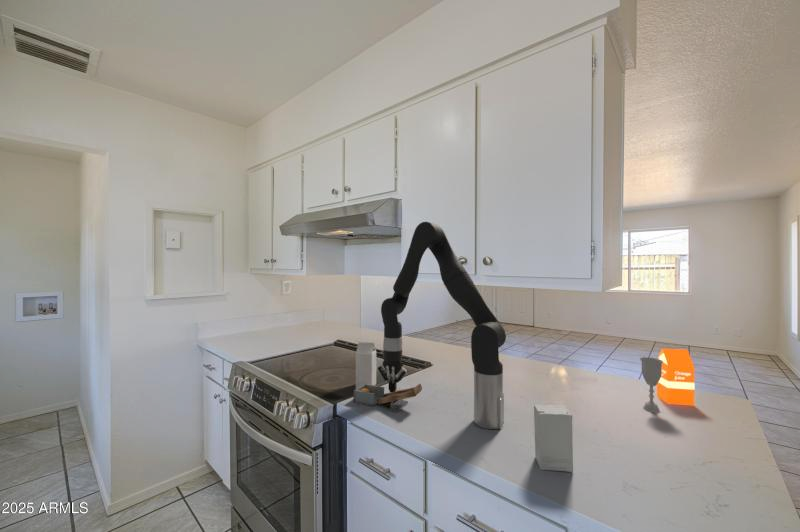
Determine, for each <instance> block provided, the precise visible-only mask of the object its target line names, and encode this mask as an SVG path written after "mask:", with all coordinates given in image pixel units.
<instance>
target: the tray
mask: <svg viewBox="0 0 800 532" xmlns="http://www.w3.org/2000/svg"><path fill="white" fill-rule="evenodd" d="M363 389H368V390H369V392H365V391H362V390H363ZM352 393H353V396H352V397H353V403H356V402H358V403H357V404H361V403H362V404H361V405H365V404H368V405H367V406H370V405H372V406H371V407H375V406H376V405H378V404H377V399H379V398H383V397H384V394H385V387H384V386H379V385H370V384H363V385H361V386H360V387H358V388H356V387H355V389H353V392H352ZM375 404H376V405H375ZM374 405H375V406H374Z"/></svg>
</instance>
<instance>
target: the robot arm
mask: <svg viewBox="0 0 800 532" xmlns="http://www.w3.org/2000/svg"><path fill="white" fill-rule="evenodd" d="M410 241H411V242H410V244H409V248H408V249H407V250H408V251H407V254H406V258H405V259H404V263H403V265H402V268H401V269H400V271H399V274H398V275H397V278H396V280H395V282H394V284H393V287H392V288H393V289H392V290H393V295H392V297H388V298H385V299H384V300H383V301H382V303H381V307H380V310H381V311H380V312H381V318H382V319H381V320H382V322H383V326H384V327H383V328H384V329H383V343H382V345H383V347H382V348H383V349H382V350H383V352H382V353H383V354H382V355H383V356H382V359H383V361H382V364H381V365H380V366H378V367H377V370H378V372H379V373H380V375H381V378H383V380H384V381H387V382H388V390H389V393H390V392H395V391H396V390H397V386H398V385H397V383H399V382H400V381H401V380H402V379H403V378H404V377H405V376H406V375H407V374H408V373H409V370H408V369H406V368H404V364H403V337H402V334H403V326H402V323H401V322H400V321H399V319H398V315H400V314H402V313H403V311H404V310H405V309H406V307H407V303H408V300H409V296H410V294H411V292H412V290H413V288H414V286H415V284H416V282H417V279H418V276H419V271H420V264H421V261H422V258H423V256H424V254H425V252H426V250H427V249H429V250H430V252H431V254H432V255H433V257H434V258H435V260H436V262H437V264H438V267H439V272H440V273H439V274H440V277H441V281H442V282H443V285H444V286H445V288H446V290H447V291H448V294H449V295H450V296H451V298H452V300H454V301H455V302H456V303H457V304H458V306H460V307H461V308H462V309H463V310H464V311H466V313H467V314H468V315H469V316H470V317H471V320H472V321H473V323H474V325H475V327H473V330H472V331H471V332H472V333H471V336H470V337H471V338H470V339H471V340H470V343H471V344H470V348H471V351H470V352H471V361H472V364H473V422H474V424H475V425H476V426H478V427H480V428H482V429H486V430H496V429H497V430H502V427H503V425H504V423H505V394H504V389H503V387H504V385H503V381H504V380H503V378H504V377H503V375H504V374H503V372H504V371H503V369H504V368H503V367H504V365H503V363H502V362H501V361H500V360H499V359H500V358H499V357H500V354H499V348H502V346H503V345H504V344H505V343H506V340H507V334H506V330H505V329H504V327H503V325H502V323H501V322H500V321H499V320H498V319H497V317H496V316H495V314H493V312H492V311H491V309H490V307H488V305H487V303H486V302H485V300H484V299H483V297H482V295H481V293H480V292H479V290H478V288H477V287H476V285H475V283H474V281H473V280H472V277H470V275H469V273H468V271H467V270H466V268H465V267H464V265H463V264H462V262H461V261H460V259H459V258H458V256H457V255H456V254H455V253H456V252H454V250H453V248H452V246H451V244H450V242H449V240H448V238H447V235H446V234H445V231H444V229H443V228H442V227H441V226H439V225H438V224H435V223H433V222H429V221H421V222H420V223H418V225H417V226H416V227H415V230H414V232H413V234H412V238H411V240H410ZM399 372H400V374H399Z"/></svg>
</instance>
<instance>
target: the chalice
mask: <svg viewBox="0 0 800 532" xmlns="http://www.w3.org/2000/svg"><path fill="white" fill-rule="evenodd" d="M639 360H640V361H641V374H642V377H643V379H644V381H645V383H646V384H647V385H648V386H649V389H648V392H649V395H648V397H649V400H648V401H646V402H645V403H644V405H643V407H642V409H643V411H644V410H645V411H647V412H650V413H656V414H657V413H661V410H660V407H659V406H658V404H657V403H656V402H655V401H654V398H655V396H654V392H655V390H654V387H657V383H658V382H659V380H660V378H661V376H662V363H663V361H662V360H660V359H658V358H655V357H646V356H645V357H639Z"/></svg>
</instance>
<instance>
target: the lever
mask: <svg viewBox="0 0 800 532" xmlns="http://www.w3.org/2000/svg"><path fill="white" fill-rule="evenodd" d="M422 390H423V386H422V383H418V384H417V385H416V386H414V387H409V388H403V389H396V391H395V392H390V391H389V392H388V393H387V392H386V393H384V397H383V398H379V399H377V403H378V404H377V405H382V404H386V403H387V404H388V403H392V402H393V401H396V400H401V399H403V400H406V399H411V398H414V397H416V396H417V395H418V394H420V393H421V392H422Z"/></svg>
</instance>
